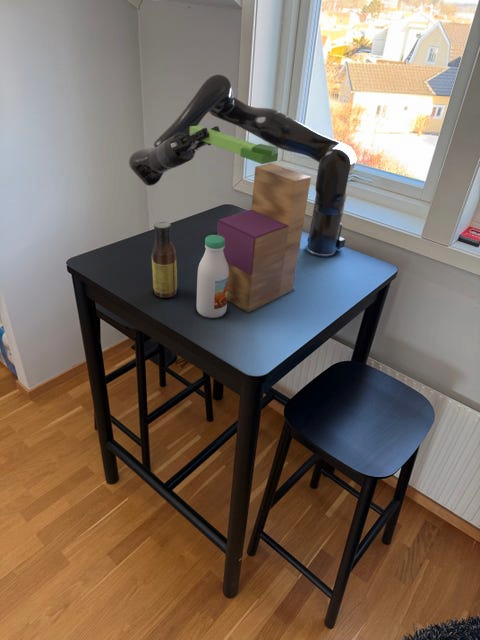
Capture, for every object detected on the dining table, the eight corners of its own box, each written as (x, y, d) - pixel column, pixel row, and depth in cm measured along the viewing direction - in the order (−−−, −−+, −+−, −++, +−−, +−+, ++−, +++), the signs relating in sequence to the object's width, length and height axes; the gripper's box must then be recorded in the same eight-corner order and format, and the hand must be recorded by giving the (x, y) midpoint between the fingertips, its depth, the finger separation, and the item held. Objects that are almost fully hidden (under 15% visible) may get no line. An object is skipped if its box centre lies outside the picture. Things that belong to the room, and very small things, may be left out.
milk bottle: (202, 321, 115) (205, 247, 104) (192, 304, 121) (193, 233, 110) (231, 315, 118) (236, 243, 107) (220, 300, 124) (224, 229, 113)
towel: (215, 256, 121) (217, 219, 115) (248, 244, 128) (251, 209, 122) (250, 275, 114) (254, 237, 108) (282, 261, 121) (287, 225, 116)
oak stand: (213, 292, 127) (220, 174, 109) (258, 272, 138) (271, 162, 120) (248, 312, 120) (260, 190, 102) (292, 290, 131) (311, 176, 113)
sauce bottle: (164, 284, 128) (163, 216, 117) (182, 292, 125) (182, 223, 114) (147, 293, 124) (144, 223, 113) (165, 302, 121) (163, 231, 110)
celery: (186, 136, 120) (186, 125, 118) (203, 134, 123) (203, 123, 121) (264, 164, 105) (265, 152, 103) (280, 161, 108) (282, 148, 106)
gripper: (149, 140, 124) (186, 117, 111) (190, 134, 132) (229, 113, 119) (158, 169, 125) (195, 150, 112) (198, 161, 134) (237, 142, 121)
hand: (212, 131), depth 116 cm, fingers closed on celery, 3 cm apart
